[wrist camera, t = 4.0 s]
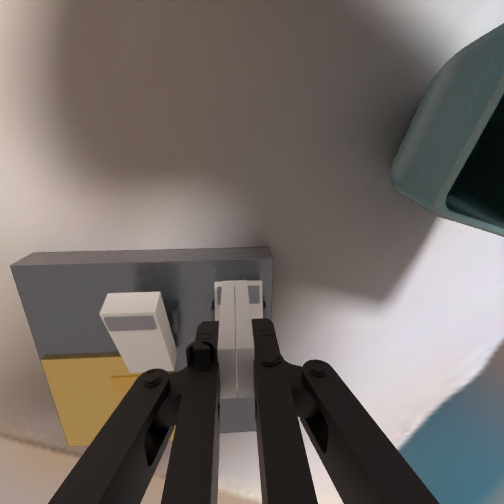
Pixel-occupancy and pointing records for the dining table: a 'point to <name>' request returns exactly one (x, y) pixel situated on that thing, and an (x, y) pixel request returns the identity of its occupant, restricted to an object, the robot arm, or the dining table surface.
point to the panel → (97, 336)
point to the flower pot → (459, 140)
